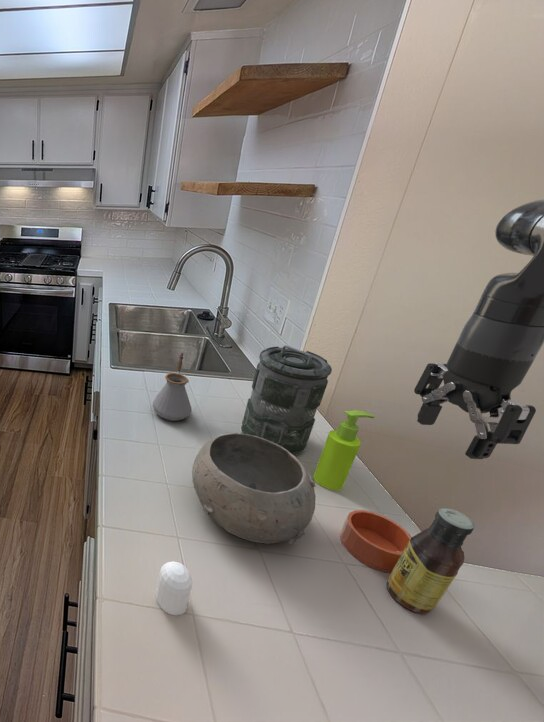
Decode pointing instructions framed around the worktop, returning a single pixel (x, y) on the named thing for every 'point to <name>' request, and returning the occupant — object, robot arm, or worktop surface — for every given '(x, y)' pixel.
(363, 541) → the holder
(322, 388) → the canister
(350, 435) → the soap dispenser
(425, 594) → the sauce bottle
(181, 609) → the capsule
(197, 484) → the bowl
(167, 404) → the coffee pot
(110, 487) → the worktop surface
